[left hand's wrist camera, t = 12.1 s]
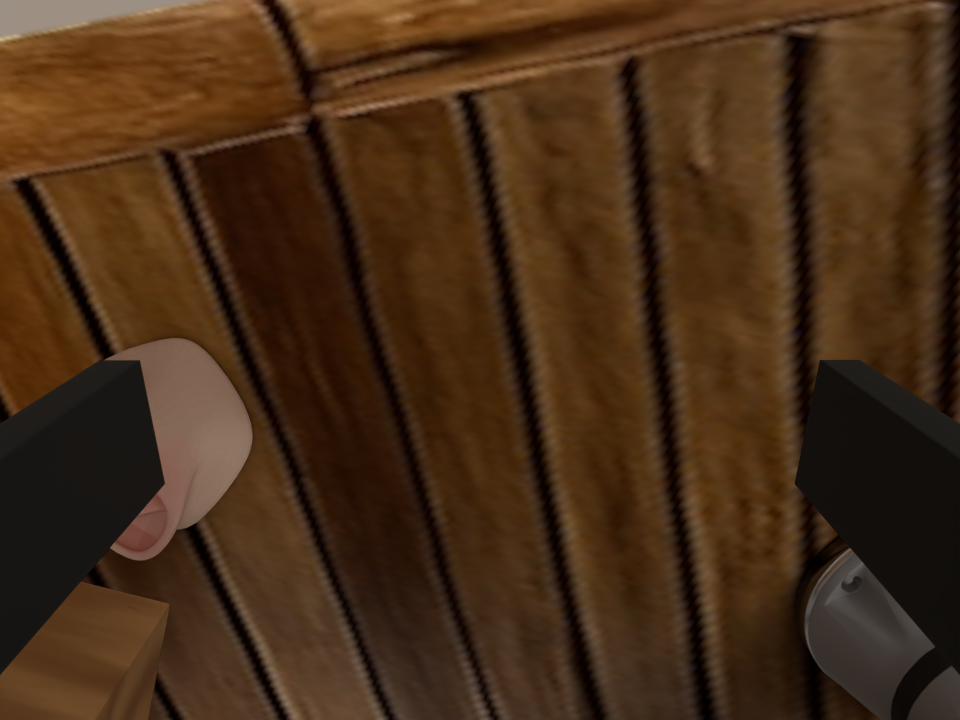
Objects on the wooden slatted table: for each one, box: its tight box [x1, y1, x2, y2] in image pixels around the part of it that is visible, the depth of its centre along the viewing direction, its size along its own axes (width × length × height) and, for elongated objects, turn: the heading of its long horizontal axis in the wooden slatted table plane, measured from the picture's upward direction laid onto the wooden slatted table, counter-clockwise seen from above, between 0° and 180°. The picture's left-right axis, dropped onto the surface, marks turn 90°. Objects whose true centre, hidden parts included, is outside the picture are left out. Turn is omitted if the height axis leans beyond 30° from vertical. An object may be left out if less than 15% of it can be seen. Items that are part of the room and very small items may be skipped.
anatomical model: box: [105, 338, 253, 560], centre depth 39 cm, size 13×4×12 cm
